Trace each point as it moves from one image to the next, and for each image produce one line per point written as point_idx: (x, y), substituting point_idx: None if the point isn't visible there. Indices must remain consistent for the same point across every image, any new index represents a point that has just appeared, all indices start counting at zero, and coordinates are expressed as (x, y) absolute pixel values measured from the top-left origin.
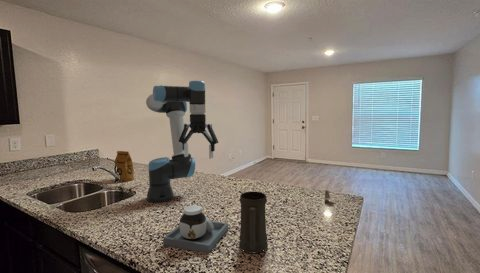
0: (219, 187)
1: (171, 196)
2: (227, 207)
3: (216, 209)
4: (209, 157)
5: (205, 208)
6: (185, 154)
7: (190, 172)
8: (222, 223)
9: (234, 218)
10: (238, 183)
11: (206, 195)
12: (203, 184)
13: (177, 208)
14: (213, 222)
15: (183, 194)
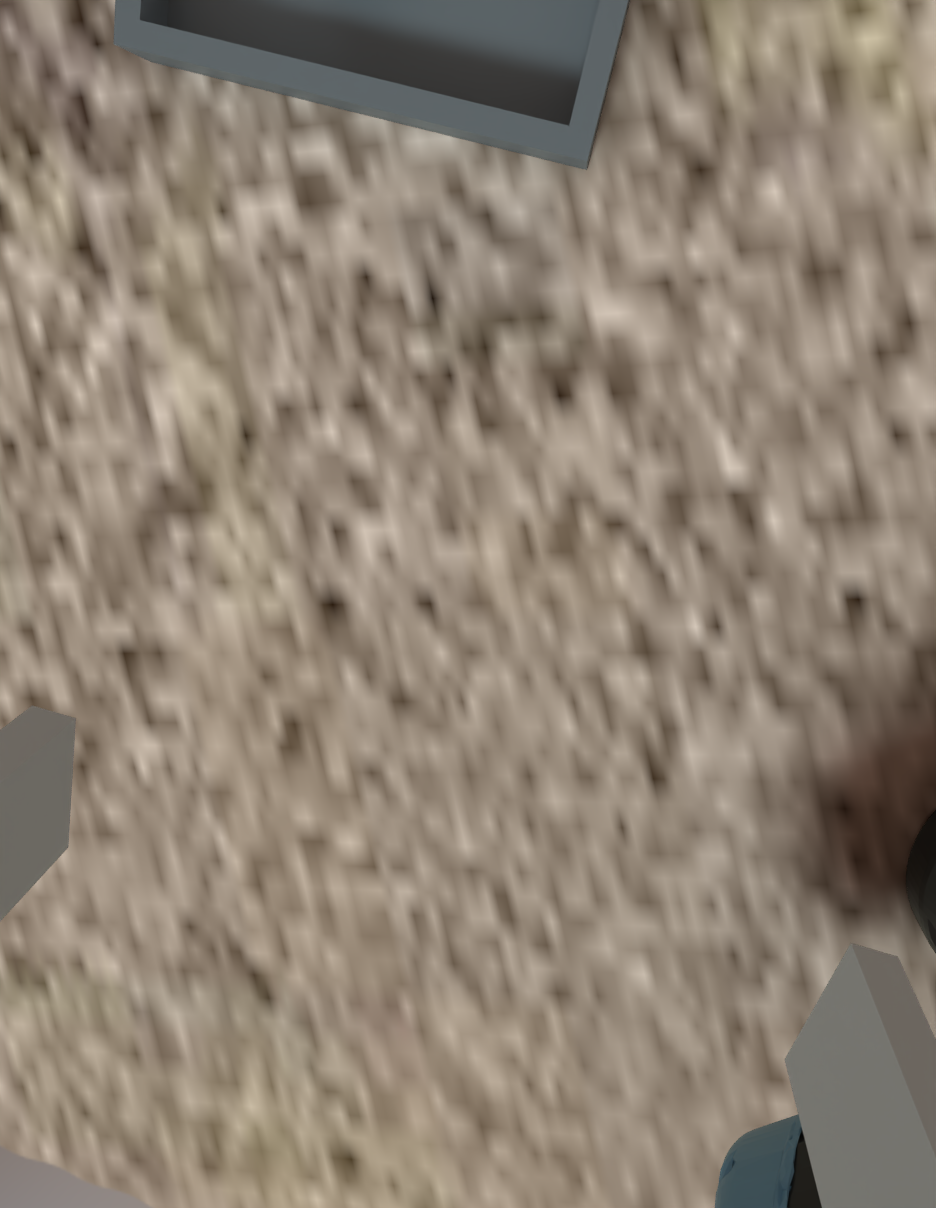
0: (475, 1099)
1: (930, 851)
2: (289, 622)
3: (384, 572)
4: (47, 732)
5: (499, 596)
6: (876, 1010)
7: (769, 1152)
8: (170, 31)
9: (162, 358)
10: (319, 1174)
11: (561, 917)
12: (650, 1183)
13: (801, 592)
14: (274, 54)
15: (810, 953)
